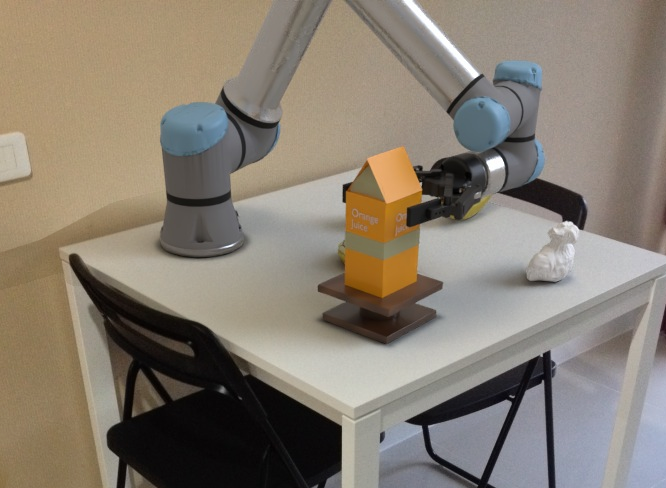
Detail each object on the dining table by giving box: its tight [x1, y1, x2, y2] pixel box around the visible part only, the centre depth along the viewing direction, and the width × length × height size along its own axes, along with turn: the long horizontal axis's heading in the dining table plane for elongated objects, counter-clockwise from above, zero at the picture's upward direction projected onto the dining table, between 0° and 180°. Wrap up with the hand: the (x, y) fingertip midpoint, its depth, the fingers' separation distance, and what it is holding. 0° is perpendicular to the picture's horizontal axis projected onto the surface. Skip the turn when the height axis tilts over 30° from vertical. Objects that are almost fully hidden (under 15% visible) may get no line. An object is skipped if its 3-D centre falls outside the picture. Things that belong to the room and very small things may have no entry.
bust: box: [526, 220, 580, 283], centre depth 168 cm, size 12×8×11 cm
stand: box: [317, 271, 444, 345], centre depth 154 cm, size 14×14×6 cm
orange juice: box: [344, 145, 423, 298], centre depth 147 cm, size 8×9×20 cm
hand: (375, 205), depth 144 cm, fingers open, 13 cm apart
